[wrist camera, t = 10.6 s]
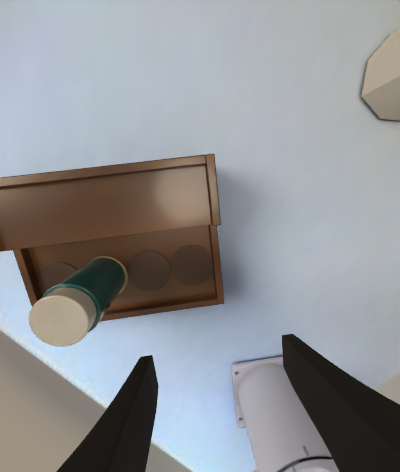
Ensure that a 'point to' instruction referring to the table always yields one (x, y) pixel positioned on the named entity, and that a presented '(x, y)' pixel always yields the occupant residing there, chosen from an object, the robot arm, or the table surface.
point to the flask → (384, 79)
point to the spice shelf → (120, 230)
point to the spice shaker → (77, 302)
